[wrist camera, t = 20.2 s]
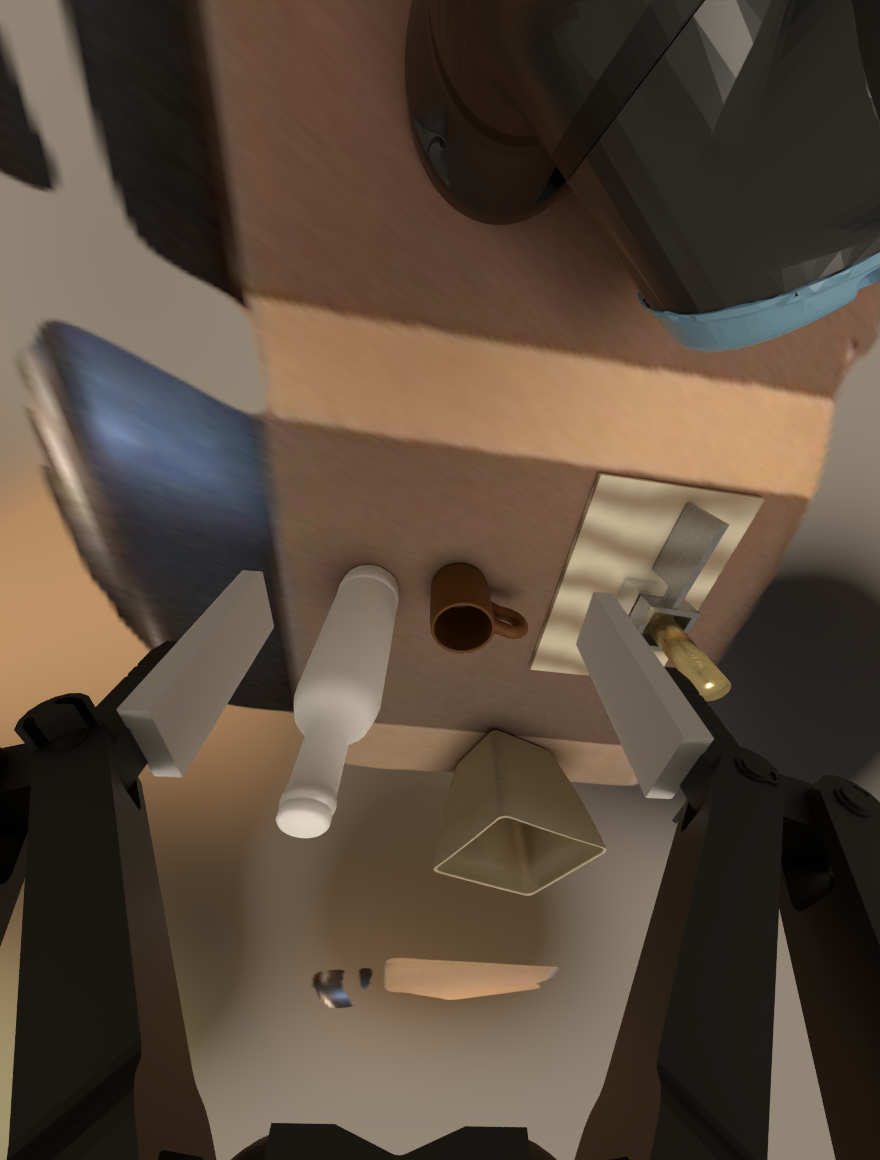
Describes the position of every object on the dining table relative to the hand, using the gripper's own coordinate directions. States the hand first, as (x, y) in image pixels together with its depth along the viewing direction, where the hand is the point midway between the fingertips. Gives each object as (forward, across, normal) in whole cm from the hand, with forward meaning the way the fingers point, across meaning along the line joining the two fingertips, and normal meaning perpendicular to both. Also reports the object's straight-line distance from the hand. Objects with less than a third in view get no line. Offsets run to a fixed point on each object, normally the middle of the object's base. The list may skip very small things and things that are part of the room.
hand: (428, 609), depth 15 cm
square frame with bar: (+30, +29, -13) cm, 43 cm away
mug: (+31, +6, -18) cm, 36 cm away
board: (+31, +27, -17) cm, 45 cm away
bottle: (+31, -8, -19) cm, 37 cm away
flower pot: (+30, +16, -55) cm, 65 cm away
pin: (+30, +28, -18) cm, 45 cm away
